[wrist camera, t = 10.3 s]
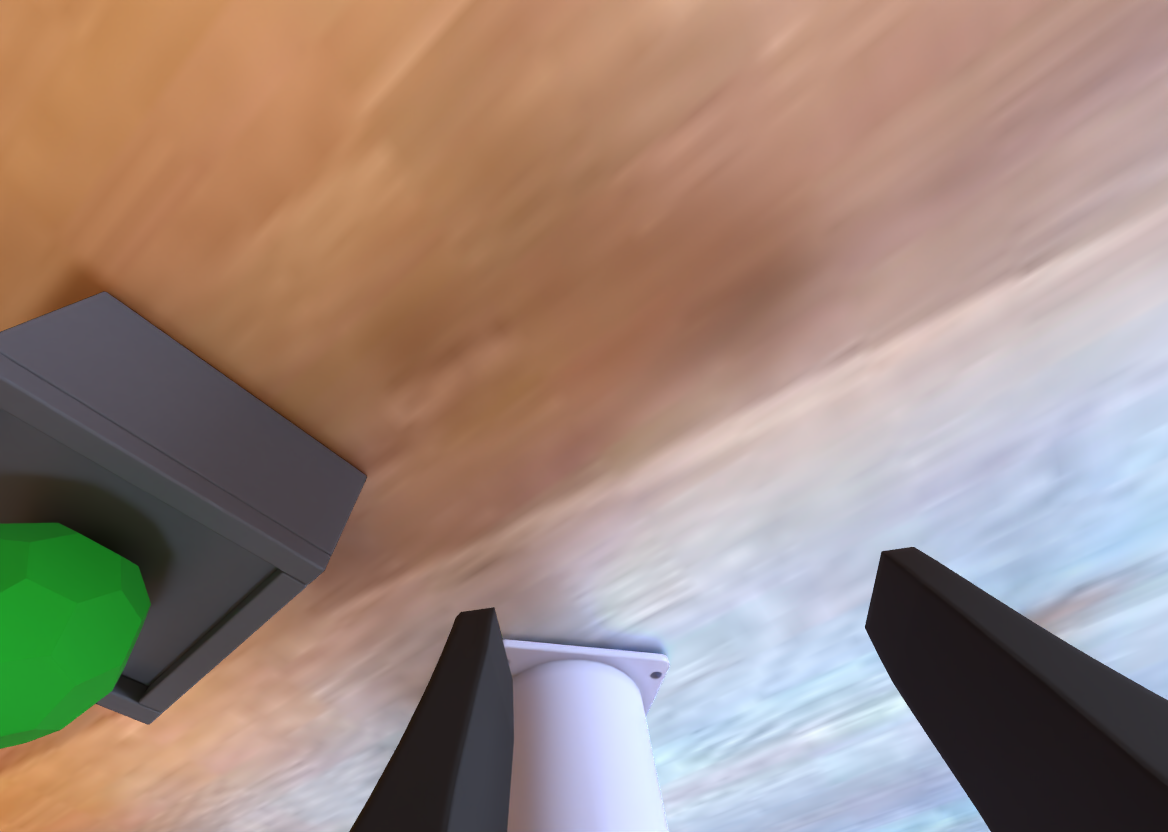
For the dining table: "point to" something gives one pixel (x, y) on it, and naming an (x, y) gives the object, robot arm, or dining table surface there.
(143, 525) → the grey box
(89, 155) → the dining table surface
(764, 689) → the dining table surface
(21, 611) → the polyhedron
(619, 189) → the dining table surface
